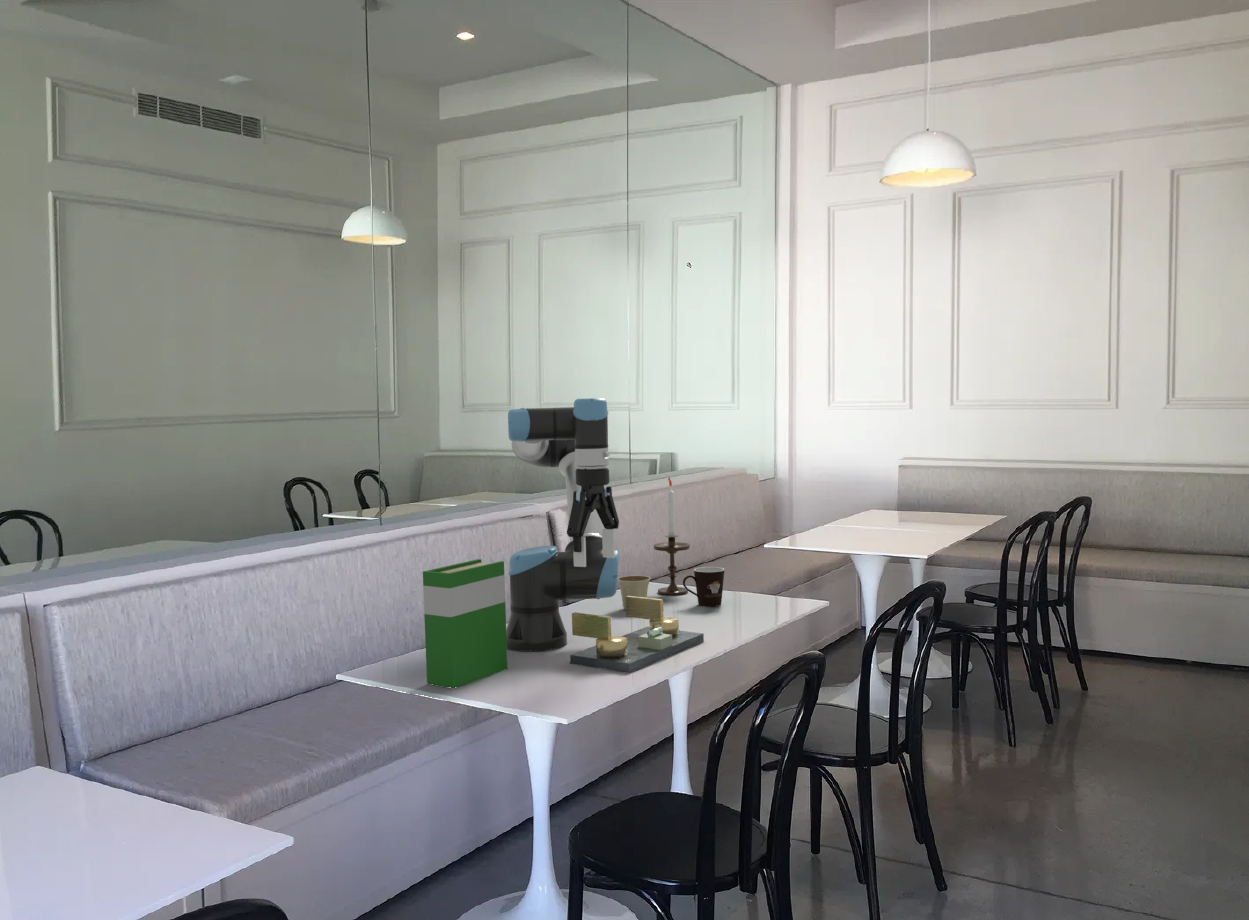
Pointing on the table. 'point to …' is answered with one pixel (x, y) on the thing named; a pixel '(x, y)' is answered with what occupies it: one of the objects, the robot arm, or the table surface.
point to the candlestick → (671, 549)
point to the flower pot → (633, 587)
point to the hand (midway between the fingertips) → (594, 562)
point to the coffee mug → (708, 585)
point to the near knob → (599, 634)
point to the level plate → (640, 650)
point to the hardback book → (464, 622)
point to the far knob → (651, 613)
